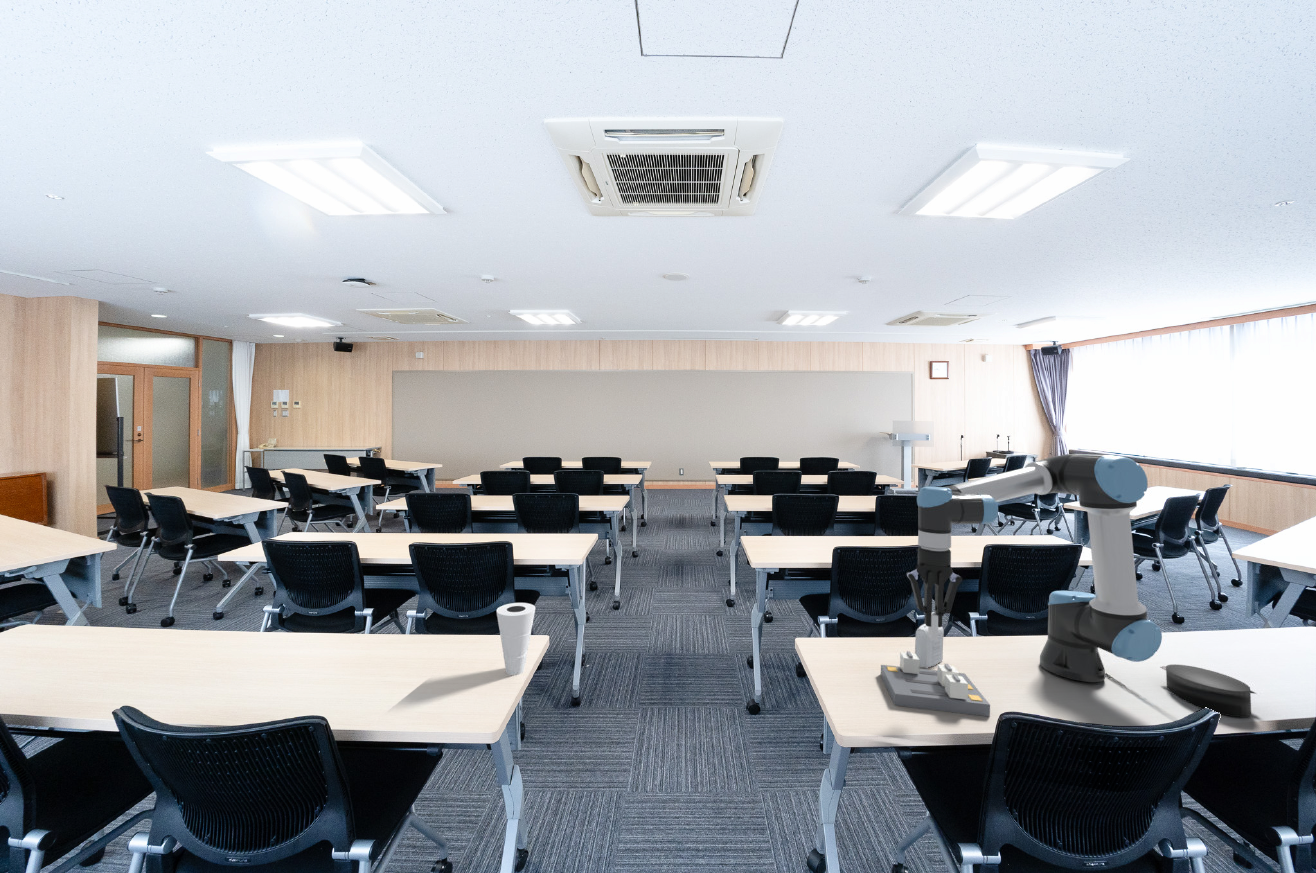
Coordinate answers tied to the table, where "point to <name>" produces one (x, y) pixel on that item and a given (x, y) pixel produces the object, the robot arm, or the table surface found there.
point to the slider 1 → (909, 662)
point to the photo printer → (928, 647)
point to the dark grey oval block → (1209, 689)
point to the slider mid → (945, 672)
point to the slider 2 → (956, 686)
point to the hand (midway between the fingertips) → (933, 638)
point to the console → (930, 692)
